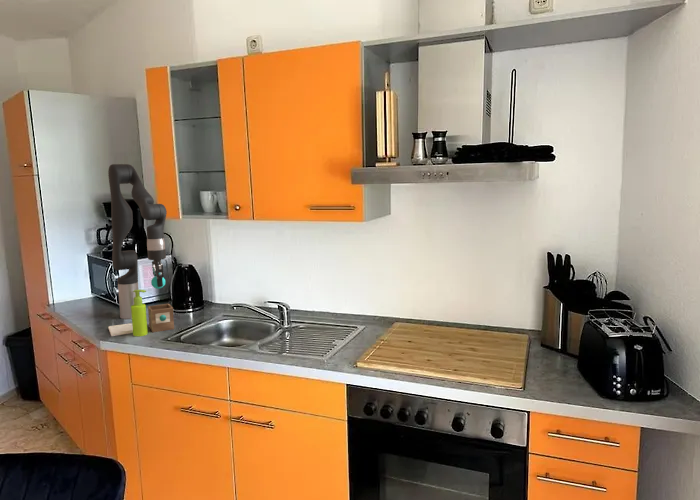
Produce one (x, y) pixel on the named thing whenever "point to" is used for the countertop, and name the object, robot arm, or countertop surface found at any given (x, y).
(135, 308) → the soap dispenser
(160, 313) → the box
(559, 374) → the countertop surface
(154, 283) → the ball
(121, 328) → the dish
